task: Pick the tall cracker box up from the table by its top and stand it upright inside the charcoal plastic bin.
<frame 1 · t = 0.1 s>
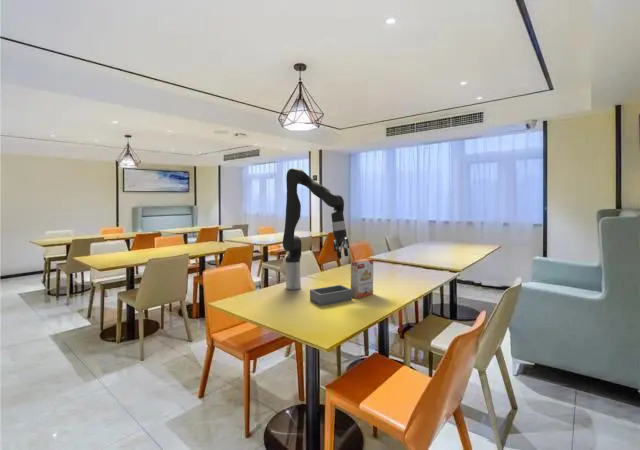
hand: (343, 257, 194), 23 cm above the table, tool pointing down, fingers open, 8 cm apart
cracker box: (362, 296, 195), on the table
bin: (330, 300, 187), on the table
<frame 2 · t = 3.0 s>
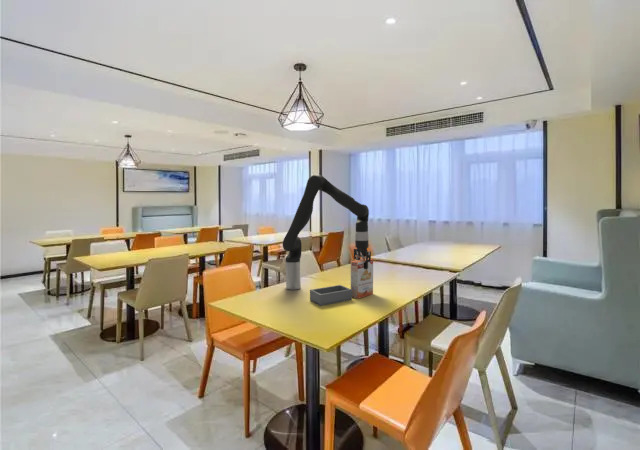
hand: (362, 267, 194), 16 cm above the table, tool pointing down, fingers closed on cracker box, 6 cm apart
cracker box: (362, 295, 195), on the table, touching gripper
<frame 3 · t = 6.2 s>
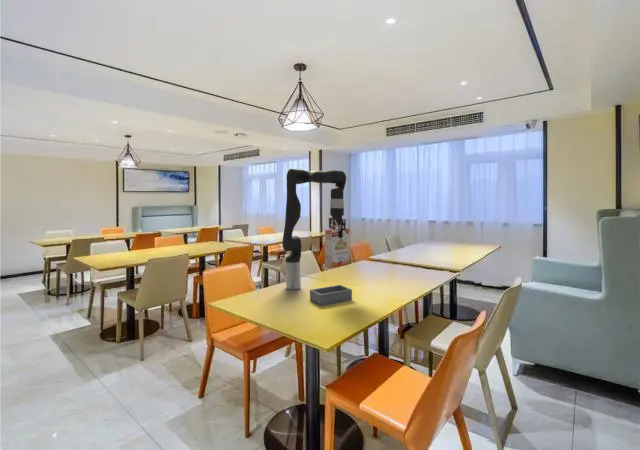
hand: (337, 237, 187), 35 cm above the table, tool pointing down, fingers closed on cracker box, 6 cm apart
cracker box: (337, 266, 188), point 19 cm above the table, touching gripper
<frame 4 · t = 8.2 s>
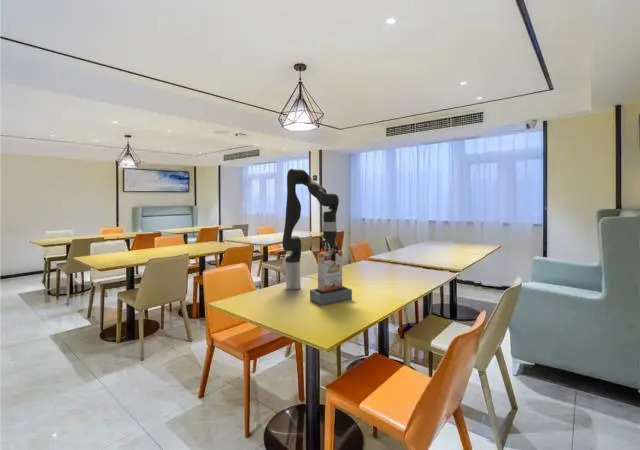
hand: (330, 259, 186), 23 cm above the table, tool pointing down, fingers closed on cracker box, 6 cm apart
cracker box: (330, 289, 187), point 6 cm above the table, touching gripper
when the fingers open (19 cm above the table, at t = 9.7 s): cracker box drops 1 cm, resting on bin.
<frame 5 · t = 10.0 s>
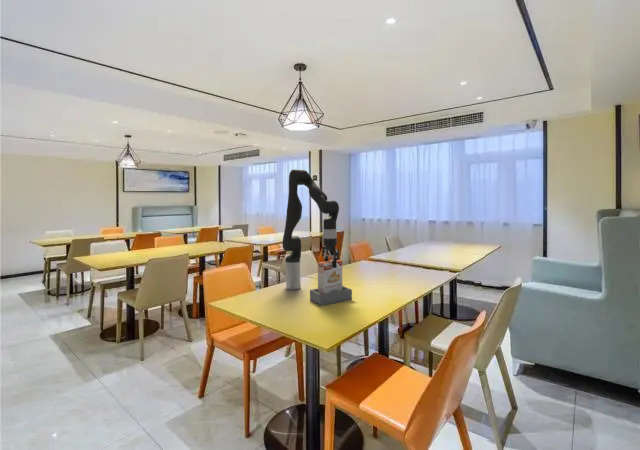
hand: (330, 266, 186), 19 cm above the table, tool pointing down, fingers open, 8 cm apart
cracker box: (330, 298, 187), point 1 cm above the table, touching bin
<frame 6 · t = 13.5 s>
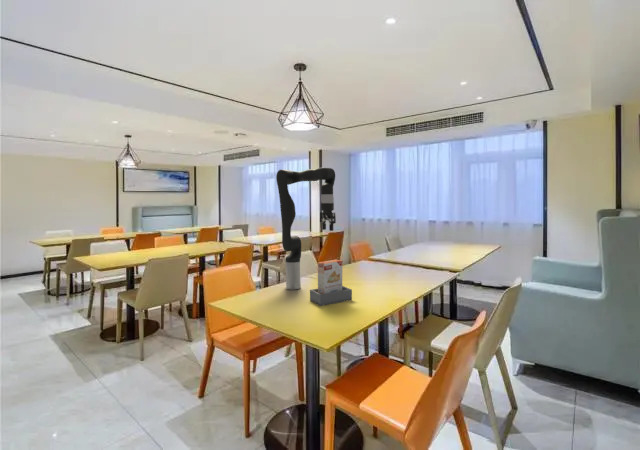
hand: (327, 230, 196), 38 cm above the table, tool pointing down, fingers open, 8 cm apart
nothing on the table moved.
at the end: cracker box 0.3 cm off-centre on the bin, point 0.8 cm above the bin's base; cracker box tilted 0°; the gripper is holding nothing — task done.
